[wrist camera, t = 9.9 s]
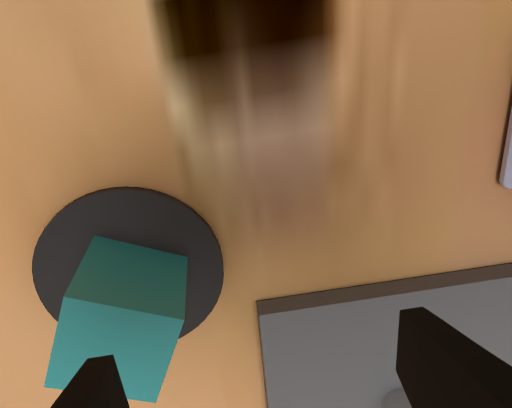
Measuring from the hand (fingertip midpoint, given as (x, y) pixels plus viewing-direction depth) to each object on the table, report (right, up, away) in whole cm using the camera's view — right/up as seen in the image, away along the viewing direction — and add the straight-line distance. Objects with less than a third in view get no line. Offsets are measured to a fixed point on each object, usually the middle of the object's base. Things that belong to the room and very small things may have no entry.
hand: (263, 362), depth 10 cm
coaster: (-6, +1, +10) cm, 12 cm away
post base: (+8, -8, +16) cm, 19 cm away
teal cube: (-6, 0, +10) cm, 12 cm away
